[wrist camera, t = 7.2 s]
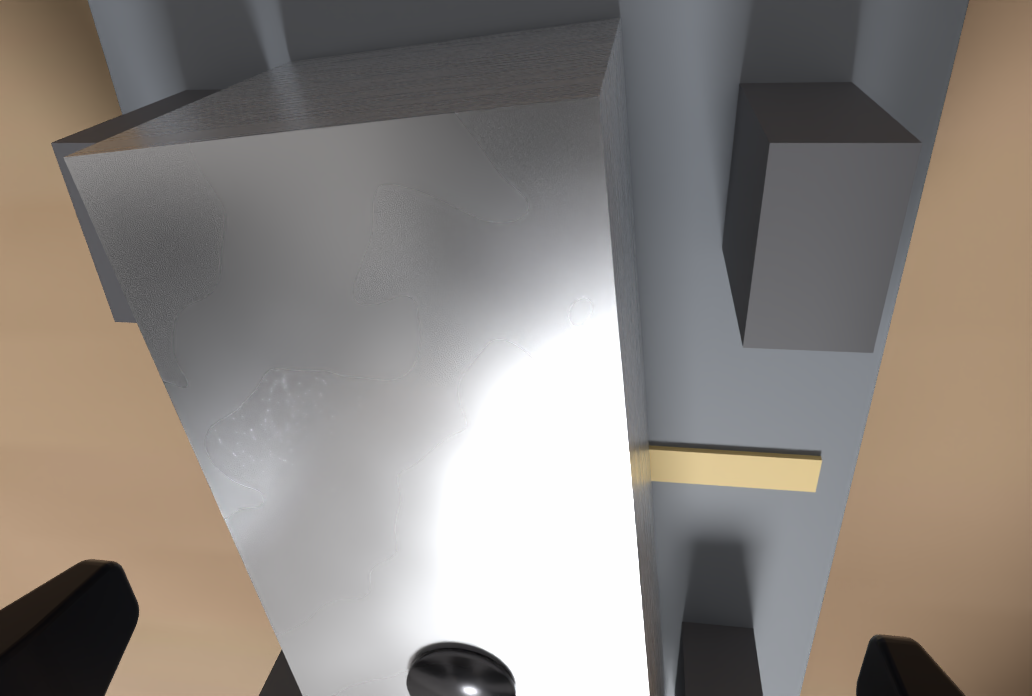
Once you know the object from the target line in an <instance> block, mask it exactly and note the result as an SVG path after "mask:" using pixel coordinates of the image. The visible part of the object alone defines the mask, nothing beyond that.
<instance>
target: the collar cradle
mask: <svg viewBox="0 0 1032 696" xmlns="http://www.w3.org/2000/svg"><path fill="white" fill-rule="evenodd" d="M968 2H969V0H88V3H89V6H90V9H91V13H92V16H93V19H94V22H95V26H96V29H97V32H98V36H99V39H100V42H101V46H102V49H103V52H104V55H105V59H106V62H107V65H108V69H109V72H110V75H111V78H112V82H113V85H114V88H115V92H116V95H117V98H118V102H119V105H120V108H121V111H122V115H121V116H118V117H116V118H113V119H111V120H108V121H106V122H103V123H101V124H98V125H95V126H93V127H90V128H88V129H85V130H83V131H80V132H78V133H75V134H73V135H70V136H67V137H65V138H62V139H60V140H57V141H55V142H52V143H51V144H52V147H53V150H54V153H55V156H56V158H57V161H58V164H59V167H60V169H61V172H62V175H63V178H64V181H65V183H66V186H67V189H68V192H69V195H70V197H71V200H72V203H73V206H74V209H75V211H76V214H77V217H78V220H79V223H80V225H81V228H82V231H83V234H84V236H85V239H86V242H87V245H88V248H89V250H90V253H91V256H92V259H93V262H94V264H95V267H96V270H97V273H98V276H99V278H100V281H101V284H102V287H103V290H104V292H105V295H106V298H107V301H108V303H109V306H110V309H111V312H112V315H113V317H114V320H115V322H131V323H137V322H136V320H135V317H134V315H133V313H132V311H131V308H130V306H129V304H128V302H127V299H126V297H125V295H124V293H123V290H122V288H121V286H120V284H119V281H118V279H117V277H116V275H115V272H114V270H113V268H112V266H111V263H110V261H109V259H108V257H107V254H106V252H105V250H104V248H103V245H102V243H101V241H100V239H99V236H98V234H97V232H96V230H95V227H94V225H93V223H92V221H91V218H90V216H89V214H88V212H87V209H86V207H85V205H84V203H83V200H82V198H81V196H80V194H79V191H78V189H77V187H76V185H75V182H74V180H73V178H72V176H71V173H70V171H69V169H68V167H67V164H66V162H65V160H64V158H63V157H65V156H68V155H70V154H72V153H75V152H77V151H80V150H82V149H84V148H87V147H89V146H91V145H94V144H96V143H98V142H101V141H103V140H105V139H108V138H110V137H113V136H115V135H117V134H120V133H122V132H124V131H127V130H129V129H131V128H134V127H136V126H138V125H141V124H143V123H145V122H148V121H150V120H153V119H155V118H157V117H160V116H162V115H164V114H167V113H169V112H171V111H174V110H176V109H178V108H181V107H183V106H185V105H188V104H190V103H193V102H195V101H197V100H200V99H202V98H204V97H207V96H209V95H211V94H214V93H216V92H218V91H221V90H223V89H226V88H228V87H230V86H233V85H235V84H237V83H240V82H242V81H244V80H247V79H249V78H251V77H254V76H256V75H258V74H261V73H263V72H266V71H268V70H270V69H273V68H275V67H277V66H280V65H282V64H284V63H287V62H294V61H302V60H309V59H316V58H324V57H331V56H339V55H346V54H354V53H361V52H368V51H376V50H383V49H391V48H398V47H405V46H413V45H420V44H428V43H435V42H443V41H450V40H457V39H465V38H472V37H480V36H487V35H495V34H502V33H509V32H517V31H524V30H532V29H539V28H546V27H554V26H561V25H569V24H576V23H584V22H591V21H598V20H606V19H613V18H620V19H621V34H622V48H623V63H624V78H625V93H626V108H627V123H628V138H629V153H630V168H631V183H632V198H633V213H634V228H635V243H636V258H637V273H638V288H639V303H640V318H641V333H642V348H643V363H644V378H645V393H646V407H647V422H648V437H649V452H650V467H651V482H652V497H653V512H654V527H655V542H656V557H657V572H658V587H659V602H660V617H661V632H662V647H663V662H664V677H665V692H666V696H800V692H801V688H802V684H803V680H804V676H805V672H806V667H807V663H808V659H809V655H810V651H811V647H812V643H813V639H814V635H815V630H816V626H817V622H818V618H819V614H820V610H821V606H822V602H823V598H824V594H825V589H826V585H827V581H828V577H829V573H830V569H831V565H832V561H833V557H834V552H835V548H836V544H837V540H838V536H839V532H840V528H841V524H842V520H843V516H844V511H845V507H846V503H847V499H848V495H849V491H850V487H851V483H852V479H853V474H854V470H855V466H856V462H857V458H858V454H859V450H860V446H861V442H862V438H863V433H864V429H865V425H866V421H867V417H868V413H869V409H870V405H871V401H872V396H873V392H874V388H875V384H876V380H877V376H878V372H879V368H880V364H881V360H882V355H883V351H884V347H885V343H886V339H887V335H888V331H889V327H890V323H891V318H892V314H893V310H894V306H895V302H896V298H897V294H898V290H899V286H900V282H901V277H902V273H903V269H904V265H905V261H906V257H907V253H908V249H909V245H910V241H911V236H912V232H913V228H914V224H915V220H916V216H917V212H918V208H919V204H920V199H921V195H922V191H923V187H924V183H925V179H926V175H927V171H928V167H929V163H930V158H931V154H932V150H933V146H934V142H935V138H936V134H937V130H938V126H939V121H940V117H941V113H942V109H943V105H944V101H945V97H946V93H947V89H948V85H949V80H950V76H951V72H952V68H953V64H954V60H955V56H956V52H957V48H958V43H959V39H960V35H961V31H962V27H963V23H964V19H965V15H966V11H967V7H968ZM259 696H302V693H301V691H300V689H299V687H298V684H297V682H296V680H295V678H294V675H293V673H292V671H291V669H290V666H289V664H288V662H287V660H286V657H285V655H284V653H283V651H282V650H281V652H280V654H279V656H278V658H277V660H276V662H275V664H274V666H273V668H272V670H271V672H270V674H269V676H268V678H267V680H266V682H265V684H264V686H263V688H262V690H261V692H260V694H259Z"/></svg>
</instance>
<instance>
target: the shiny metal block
mask: <svg viewBox="0 0 1032 696" xmlns="http://www.w3.org/2000/svg"><path fill="white" fill-rule="evenodd" d="M63 158H64V160H65V162H66V164H67V167H68V169H69V171H70V173H71V176H72V178H73V180H74V182H75V185H76V187H77V189H78V191H79V194H80V196H81V198H82V200H83V203H84V205H85V207H86V209H87V212H88V214H89V216H90V218H91V221H92V223H93V225H94V227H95V230H96V232H97V234H98V236H99V239H100V241H101V243H102V245H103V248H104V250H105V252H106V254H107V257H108V259H109V261H110V263H111V266H112V268H113V270H114V272H115V275H116V277H117V279H118V281H119V284H120V286H121V288H122V290H123V293H124V295H125V297H126V299H127V302H128V304H129V306H130V308H131V311H132V313H133V315H134V317H135V320H136V322H137V324H138V326H139V329H140V331H141V333H142V335H143V338H144V340H145V342H146V344H147V347H148V349H149V351H150V353H151V356H152V358H153V360H154V362H155V365H156V367H157V369H158V371H159V374H160V376H161V378H162V380H163V383H164V385H165V387H166V389H167V392H168V394H169V396H170V398H171V401H172V403H173V405H174V407H175V410H176V412H177V414H178V416H179V419H180V421H181V423H182V425H183V428H184V430H185V432H186V434H187V437H188V439H189V441H190V443H191V446H192V448H193V450H194V452H195V455H196V457H197V459H198V461H199V464H200V466H201V468H202V470H203V473H204V475H205V477H206V479H207V482H208V484H209V486H210V488H211V491H212V493H213V495H214V497H215V500H216V502H217V504H218V506H219V509H220V511H221V513H222V515H223V518H224V520H225V522H226V524H227V527H228V529H229V531H230V533H231V536H232V538H233V540H234V542H235V545H236V547H237V549H238V551H239V554H240V556H241V558H242V560H243V563H244V565H245V567H246V570H247V572H248V574H249V576H250V579H251V581H252V583H253V585H254V588H255V590H256V592H257V594H258V597H259V599H260V601H261V603H262V606H263V608H264V610H265V612H266V615H267V617H268V619H269V621H270V624H271V626H272V628H273V630H274V633H275V635H276V637H277V639H278V642H279V644H280V646H281V648H282V651H283V653H284V655H285V657H286V660H287V662H288V664H289V666H290V669H291V671H292V673H293V675H294V678H295V680H296V682H297V684H298V687H299V689H300V691H301V693H302V696H666V692H665V677H664V662H663V647H662V632H661V617H660V602H659V587H658V572H657V557H656V542H655V527H654V512H653V497H652V482H651V467H650V452H649V437H648V422H647V407H646V393H645V378H644V363H643V348H642V333H641V318H640V303H639V288H638V273H637V258H636V243H635V228H634V213H633V198H632V183H631V168H630V153H629V138H628V123H627V108H626V93H625V78H624V63H623V48H622V34H621V19H620V18H613V19H606V20H598V21H591V22H584V23H576V24H569V25H561V26H554V27H546V28H539V29H532V30H524V31H517V32H509V33H502V34H495V35H487V36H480V37H472V38H465V39H457V40H450V41H443V42H435V43H428V44H420V45H413V46H405V47H398V48H391V49H383V50H376V51H368V52H361V53H354V54H346V55H339V56H331V57H324V58H316V59H309V60H302V61H294V62H287V63H284V64H282V65H280V66H277V67H275V68H273V69H270V70H268V71H266V72H263V73H261V74H258V75H256V76H254V77H251V78H249V79H247V80H244V81H242V82H240V83H237V84H235V85H233V86H230V87H228V88H226V89H223V90H221V91H218V92H216V93H214V94H211V95H209V96H207V97H204V98H202V99H200V100H197V101H195V102H193V103H190V104H188V105H185V106H183V107H181V108H178V109H176V110H174V111H171V112H169V113H167V114H164V115H162V116H160V117H157V118H155V119H153V120H150V121H148V122H145V123H143V124H141V125H138V126H136V127H134V128H131V129H129V130H127V131H124V132H122V133H120V134H117V135H115V136H113V137H110V138H108V139H105V140H103V141H101V142H98V143H96V144H94V145H91V146H89V147H87V148H84V149H82V150H80V151H77V152H75V153H72V154H70V155H68V156H65V157H63Z"/></svg>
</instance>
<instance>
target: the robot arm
mask: <svg viewBox="0 0 1032 696" xmlns="http://www.w3.org/2000/svg"><path fill="white" fill-rule="evenodd" d="M138 617H139V605H138V602H137V599H136V597H135V595H134V593H133V590H132V588H131V586H130V583H129V581H128V579H127V577H126V574H125V572H124V570H123V568H122V566H121V565H120V564H118V563H117V562H114V561H105V560H95V559H89V560H84V561H81V562H80V563H78V564H76V565H74V566H73V567H71V568H69V569H68V570H66V571H64V572H63V573H61V574H59V575H58V576H56V577H54V578H53V579H51V580H49V581H48V582H46V583H44V584H43V585H41V586H39V587H38V588H36V589H34V590H33V591H31V592H29V593H28V594H26V595H24V596H23V597H21V598H19V599H18V600H16V601H14V602H13V603H11V604H9V605H8V606H6V607H5V608H3V609H1V610H0V696H105V694H106V691H107V689H108V687H109V685H110V682H111V680H112V678H113V676H114V674H115V671H116V669H117V667H118V665H119V662H120V660H121V658H122V656H123V654H124V651H125V649H126V647H127V645H128V642H129V640H130V638H131V636H132V634H133V631H134V629H135V627H136V624H137V621H138ZM856 696H965V695H964V693H963V692H962V691H961V690H960V689H959V688H958V687H957V686H956V684H955V683H954V682H953V681H952V680H951V679H950V678H949V677H948V675H947V674H946V673H945V672H944V671H943V670H942V669H941V668H940V666H939V665H938V664H937V663H936V662H935V661H934V660H933V659H932V657H931V656H930V655H929V654H928V653H927V652H926V651H925V650H924V648H923V647H922V646H921V645H920V644H919V643H918V642H916V641H915V640H913V639H911V638H908V637H900V636H889V635H875V636H873V637H872V638H871V639H870V641H869V644H868V647H867V650H866V654H865V657H864V660H863V664H862V667H861V670H860V674H859V677H858V681H857V687H856Z"/></svg>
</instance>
